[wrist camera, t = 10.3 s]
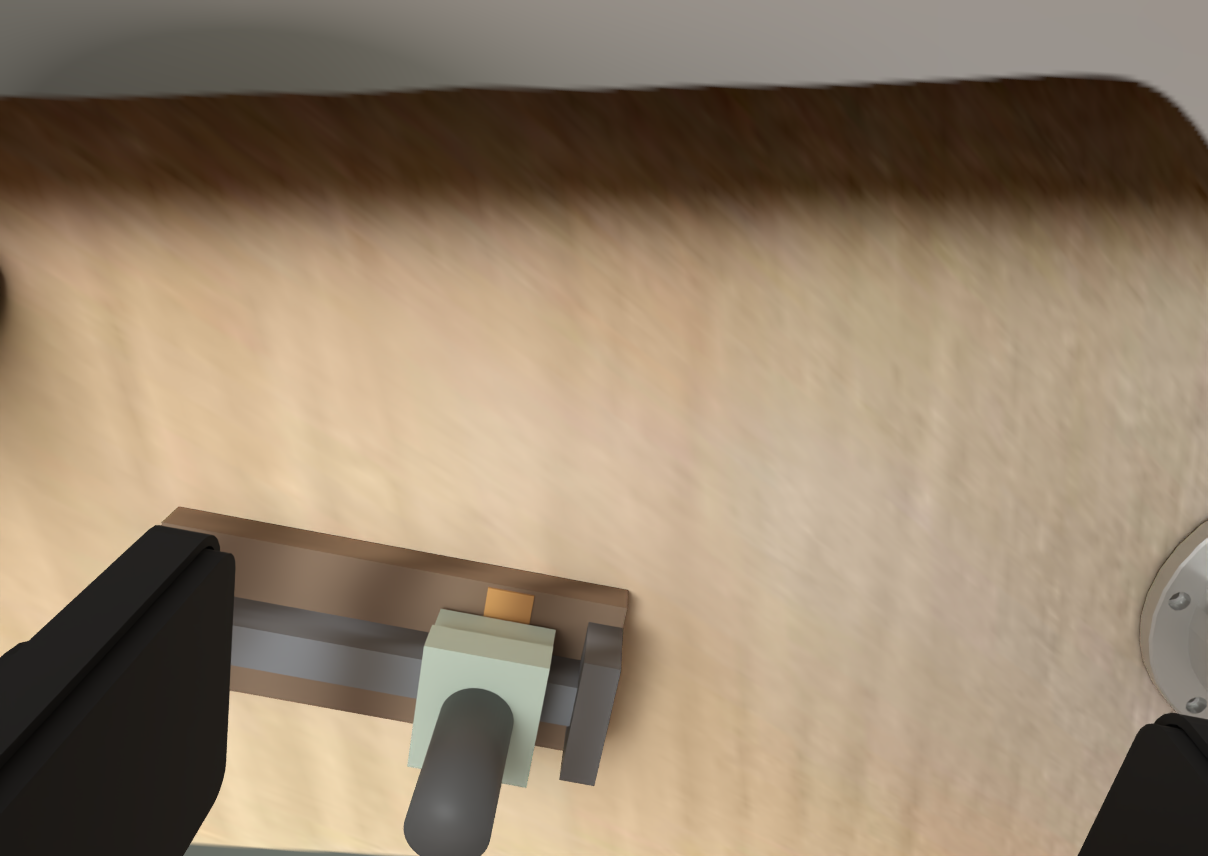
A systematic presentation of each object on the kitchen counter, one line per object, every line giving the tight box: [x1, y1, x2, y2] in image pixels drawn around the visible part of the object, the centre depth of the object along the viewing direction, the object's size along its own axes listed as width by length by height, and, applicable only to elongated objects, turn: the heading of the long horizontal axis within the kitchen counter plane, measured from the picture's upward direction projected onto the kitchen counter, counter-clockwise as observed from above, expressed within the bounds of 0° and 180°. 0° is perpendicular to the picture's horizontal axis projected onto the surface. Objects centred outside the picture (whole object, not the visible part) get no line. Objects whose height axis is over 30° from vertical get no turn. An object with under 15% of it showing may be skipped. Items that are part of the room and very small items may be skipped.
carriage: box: [404, 609, 556, 856], centre depth 37 cm, size 5×6×10 cm
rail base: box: [162, 507, 628, 786], centre depth 41 cm, size 20×8×4 cm, turn 80°
